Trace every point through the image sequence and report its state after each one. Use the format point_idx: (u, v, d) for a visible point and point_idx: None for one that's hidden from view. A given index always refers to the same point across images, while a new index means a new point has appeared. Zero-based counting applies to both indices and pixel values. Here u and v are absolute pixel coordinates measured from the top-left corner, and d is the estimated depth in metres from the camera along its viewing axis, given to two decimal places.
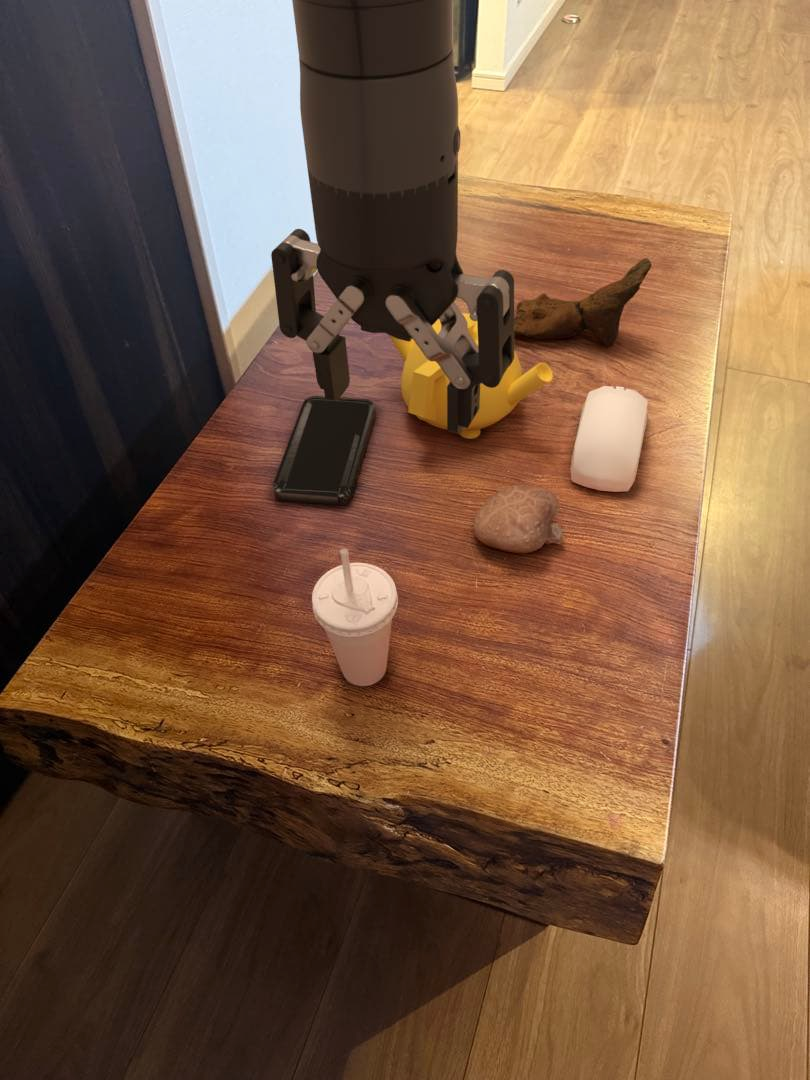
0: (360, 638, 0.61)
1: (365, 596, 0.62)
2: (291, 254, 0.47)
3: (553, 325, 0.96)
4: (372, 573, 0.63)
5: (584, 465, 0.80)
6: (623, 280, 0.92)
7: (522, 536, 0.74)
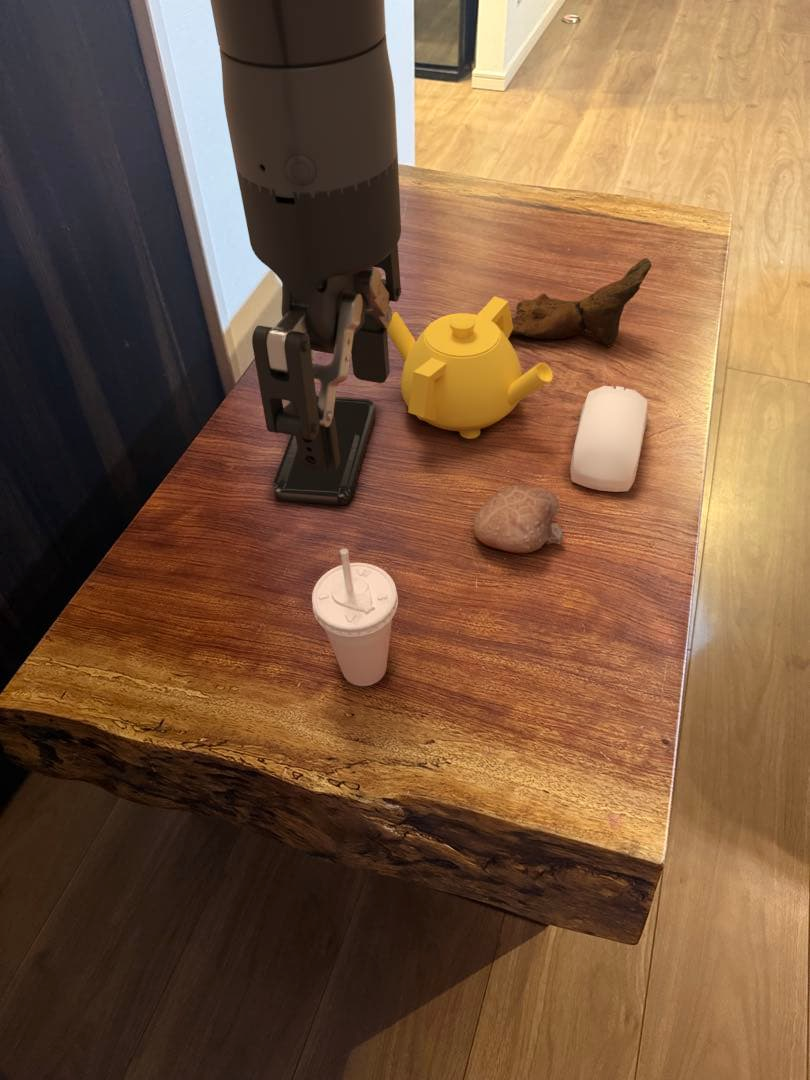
0: (360, 638, 0.61)
1: (365, 596, 0.62)
2: None
3: (553, 325, 0.96)
4: (372, 573, 0.63)
5: (584, 465, 0.80)
6: (623, 280, 0.92)
7: (522, 536, 0.74)
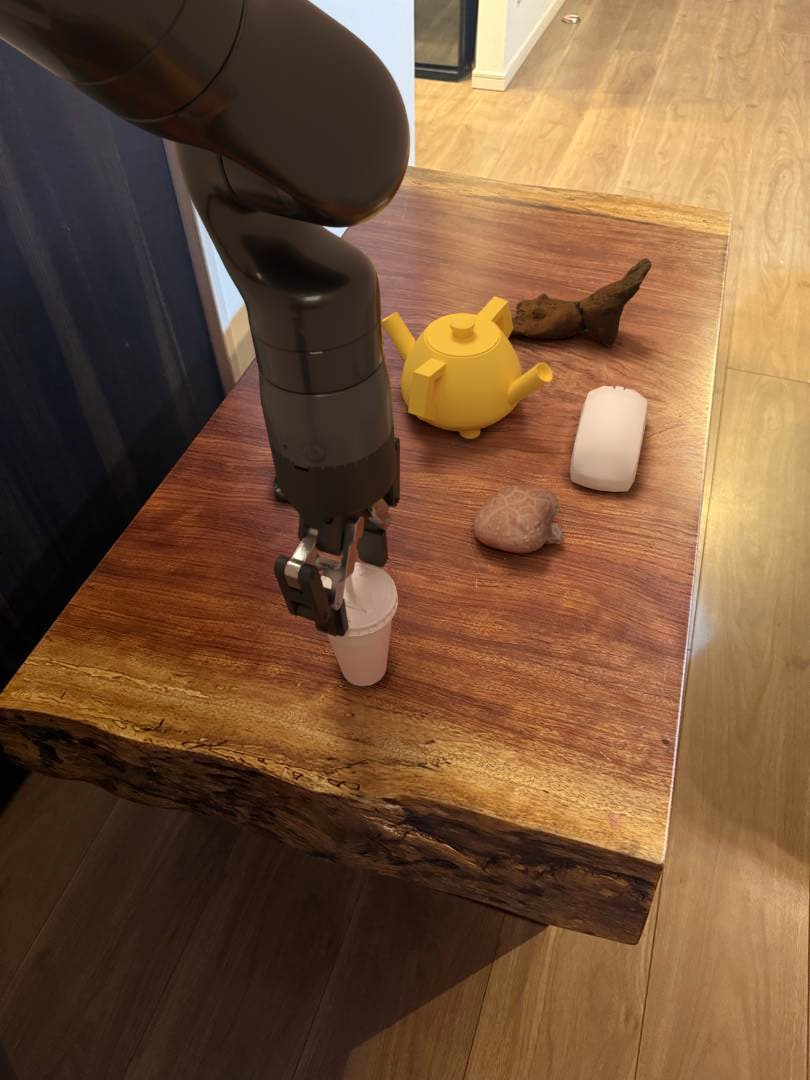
0: (360, 638, 0.62)
1: (365, 596, 0.62)
2: None
3: (553, 325, 0.96)
4: (372, 572, 0.63)
5: (583, 465, 0.80)
6: (623, 280, 0.92)
7: (522, 536, 0.74)
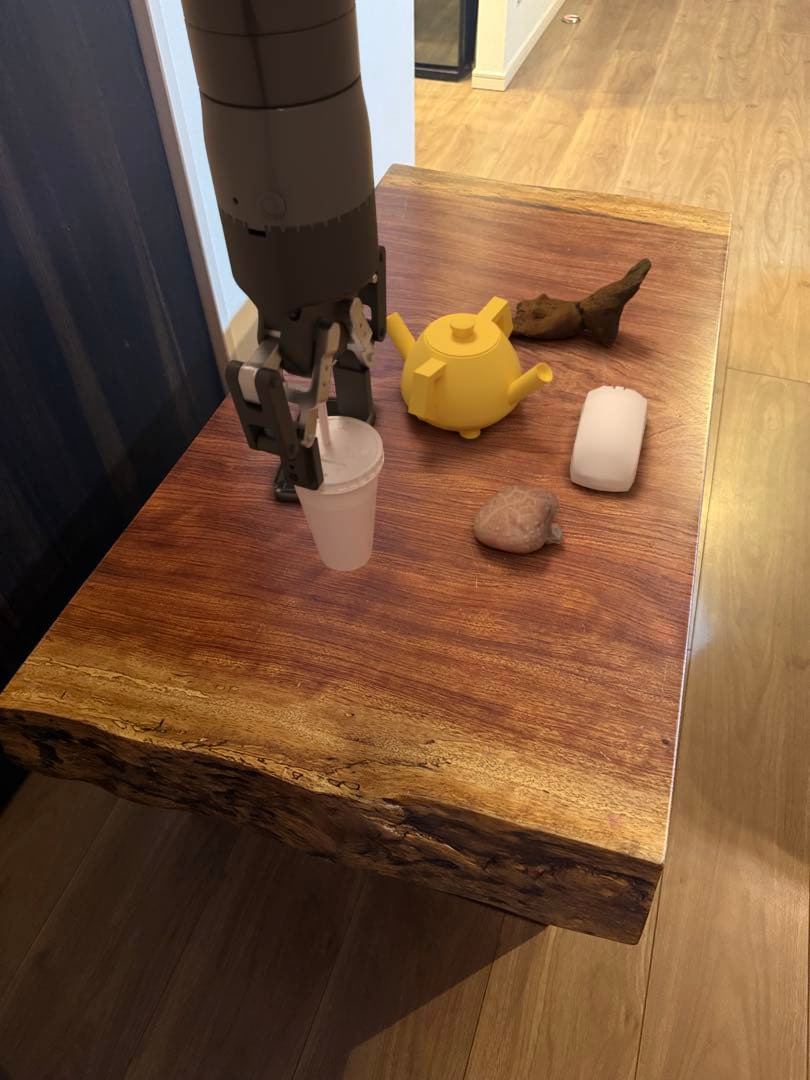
0: (339, 499, 0.51)
1: (345, 449, 0.52)
2: None
3: (553, 325, 0.96)
4: (354, 426, 0.53)
5: (583, 465, 0.80)
6: (623, 280, 0.92)
7: (522, 536, 0.74)
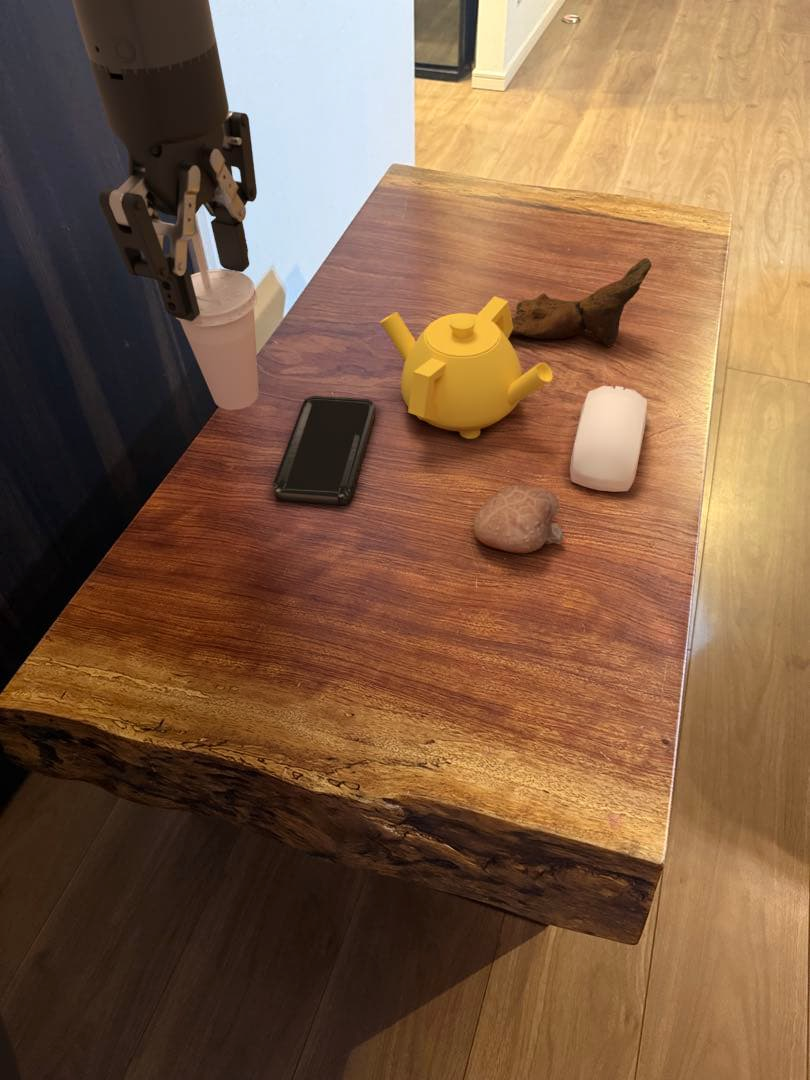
0: (216, 332, 0.61)
1: (222, 291, 0.61)
2: None
3: (553, 325, 0.96)
4: (233, 276, 0.63)
5: (583, 465, 0.80)
6: (623, 280, 0.92)
7: (522, 536, 0.74)
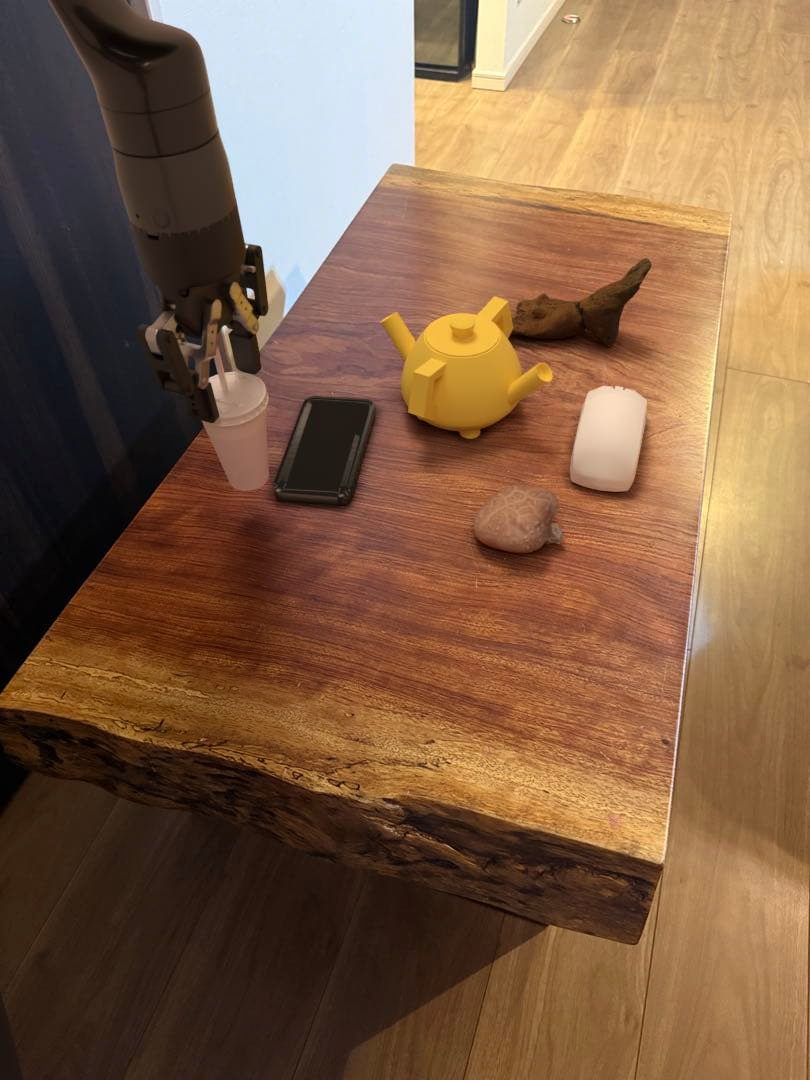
0: (233, 430, 0.70)
1: (238, 394, 0.70)
2: None
3: (553, 325, 0.96)
4: (247, 379, 0.72)
5: (583, 465, 0.80)
6: (623, 280, 0.92)
7: (522, 536, 0.74)
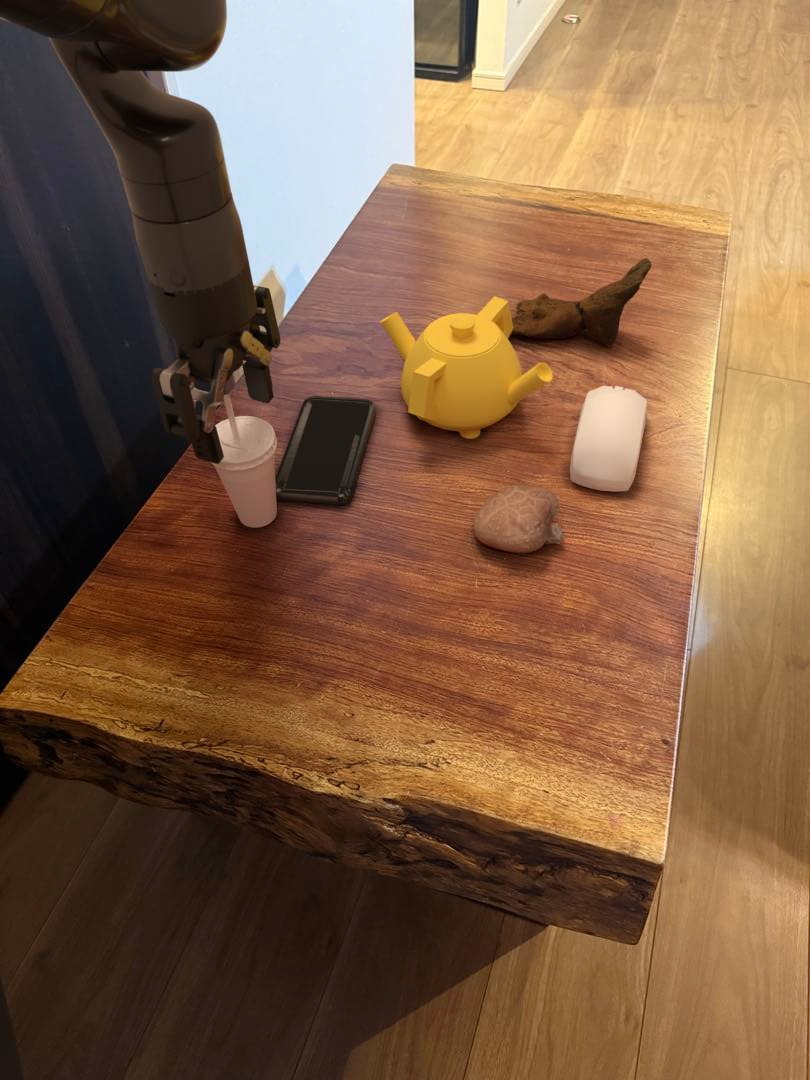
0: (244, 474, 0.74)
1: (248, 439, 0.74)
2: None
3: (553, 325, 0.96)
4: (256, 423, 0.76)
5: (583, 465, 0.80)
6: (623, 280, 0.92)
7: (522, 536, 0.74)
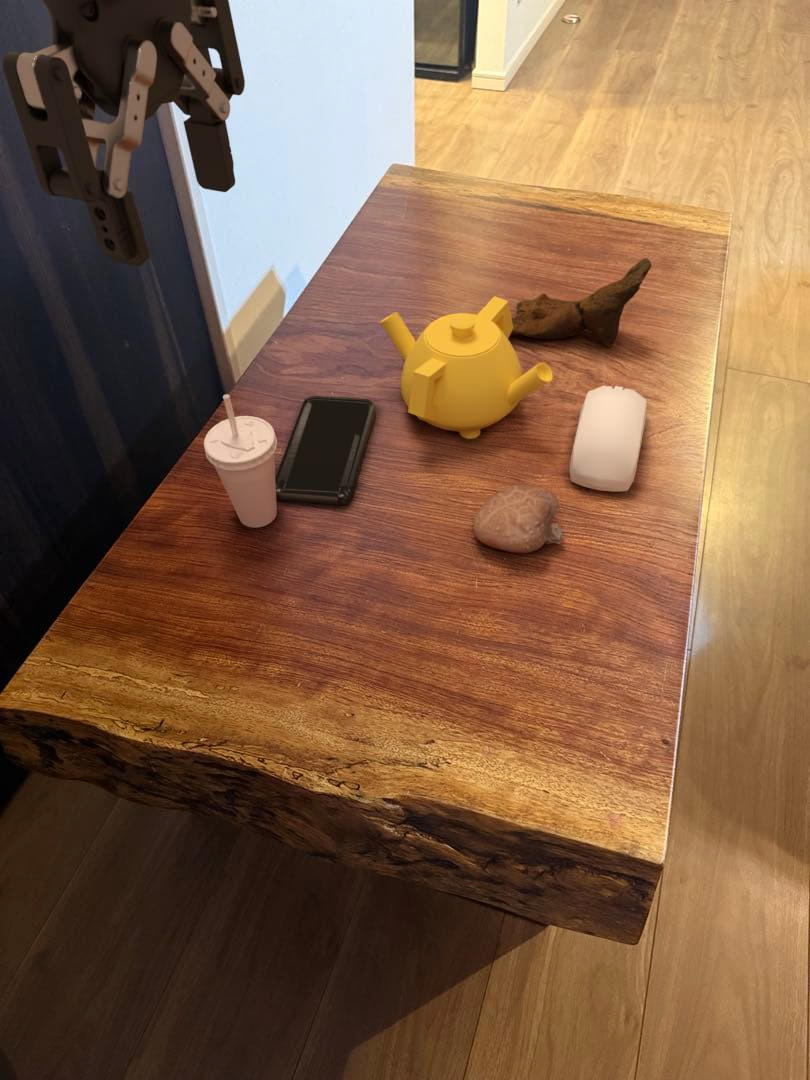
0: (243, 474, 0.74)
1: (248, 439, 0.74)
2: None
3: (553, 325, 0.96)
4: (256, 423, 0.76)
5: (583, 465, 0.80)
6: (623, 280, 0.92)
7: (522, 536, 0.74)
